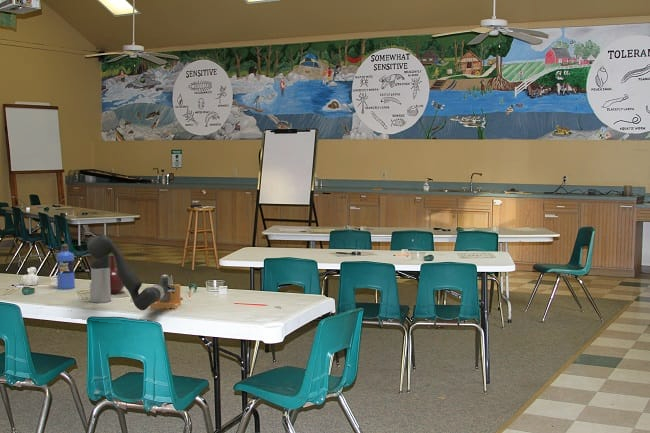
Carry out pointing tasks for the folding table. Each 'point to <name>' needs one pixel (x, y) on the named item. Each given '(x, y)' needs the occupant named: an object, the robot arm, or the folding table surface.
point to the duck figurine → (30, 277)
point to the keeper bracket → (173, 303)
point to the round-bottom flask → (114, 277)
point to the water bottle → (65, 269)
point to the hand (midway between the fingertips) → (166, 287)
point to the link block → (166, 282)
